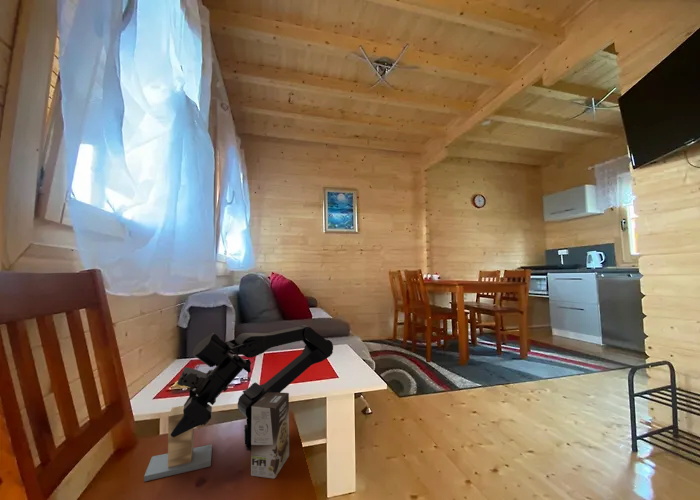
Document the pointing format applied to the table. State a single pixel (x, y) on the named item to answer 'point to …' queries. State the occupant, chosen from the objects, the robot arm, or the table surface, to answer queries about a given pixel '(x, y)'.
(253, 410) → the coffee box
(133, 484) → the table surface
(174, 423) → the block
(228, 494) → the table surface
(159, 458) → the slate board
